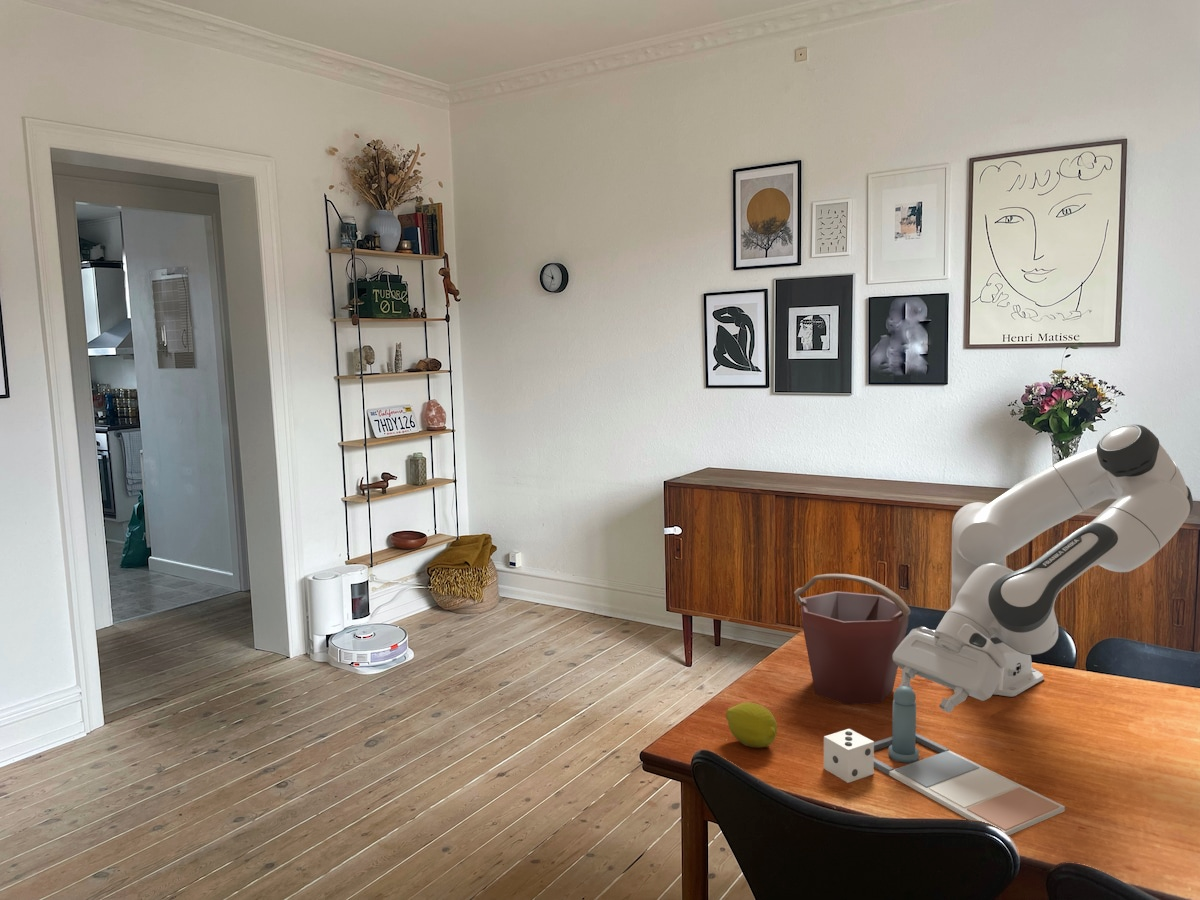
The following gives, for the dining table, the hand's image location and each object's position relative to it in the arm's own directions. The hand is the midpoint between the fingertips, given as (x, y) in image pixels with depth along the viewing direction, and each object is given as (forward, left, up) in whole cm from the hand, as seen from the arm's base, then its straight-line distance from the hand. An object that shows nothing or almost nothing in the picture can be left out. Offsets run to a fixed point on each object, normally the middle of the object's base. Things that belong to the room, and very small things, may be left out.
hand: (923, 701), depth 159 cm
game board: (+4, +11, -10) cm, 15 cm away
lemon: (+25, -19, -10) cm, 32 cm away
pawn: (+4, -1, -10) cm, 11 cm away
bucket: (-10, -29, -10) cm, 32 cm away
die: (+17, -2, -10) cm, 19 cm away
